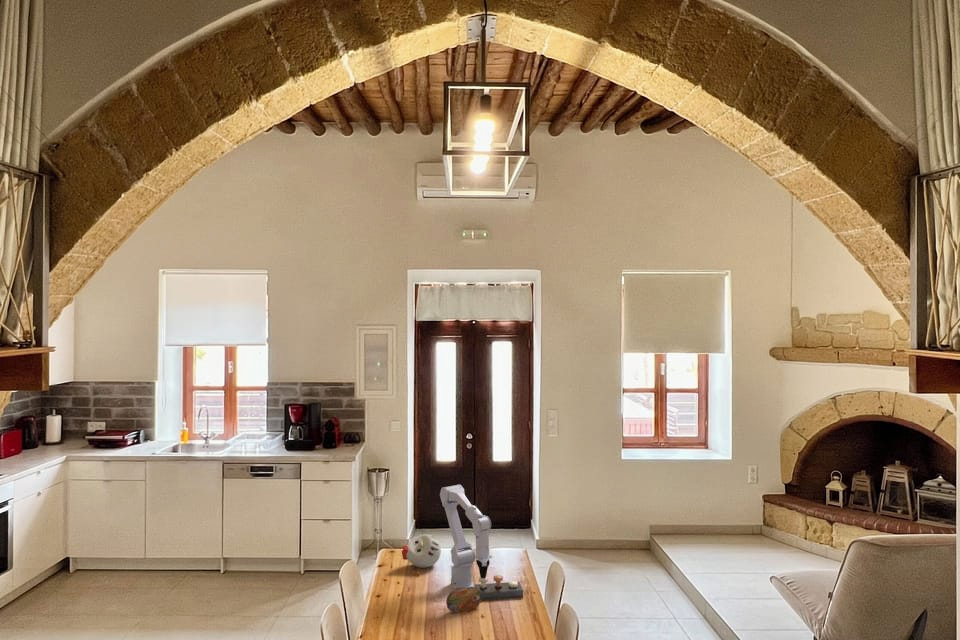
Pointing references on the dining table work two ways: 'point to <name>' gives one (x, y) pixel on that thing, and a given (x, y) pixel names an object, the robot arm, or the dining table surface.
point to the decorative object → (422, 551)
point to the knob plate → (499, 591)
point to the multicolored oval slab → (463, 600)
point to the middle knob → (498, 580)
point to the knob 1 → (483, 582)
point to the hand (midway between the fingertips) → (483, 577)
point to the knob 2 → (513, 584)
